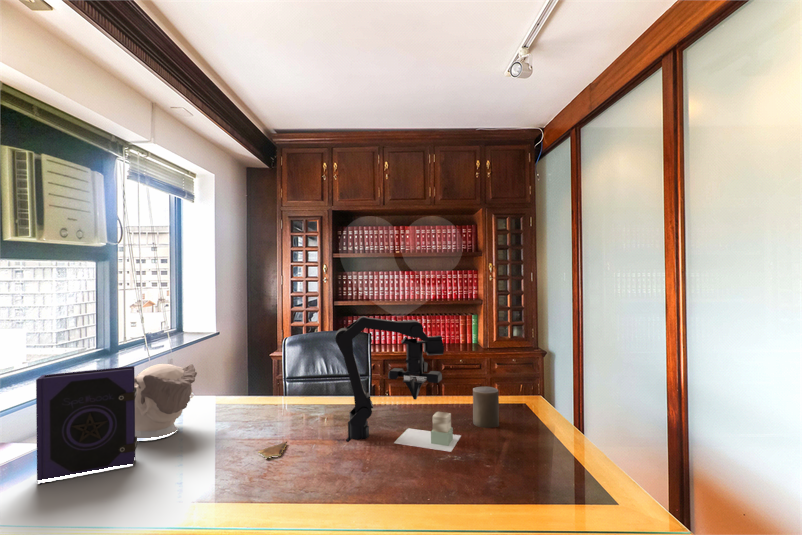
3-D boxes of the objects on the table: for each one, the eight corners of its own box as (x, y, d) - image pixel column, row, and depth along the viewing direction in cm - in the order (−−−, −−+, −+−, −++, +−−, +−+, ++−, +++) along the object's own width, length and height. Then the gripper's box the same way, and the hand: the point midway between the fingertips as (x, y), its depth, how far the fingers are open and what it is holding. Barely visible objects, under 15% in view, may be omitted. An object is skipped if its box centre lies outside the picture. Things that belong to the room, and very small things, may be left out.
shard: (287, 445, 145) (287, 440, 145) (298, 452, 139) (298, 447, 140) (257, 455, 137) (257, 449, 137) (268, 463, 132) (268, 457, 132)
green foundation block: (431, 443, 142) (430, 431, 142) (436, 436, 147) (436, 425, 147) (448, 445, 140) (448, 433, 140) (452, 439, 145) (452, 427, 145)
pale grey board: (393, 445, 142) (393, 442, 142) (408, 430, 155) (408, 428, 155) (451, 454, 135) (451, 451, 135) (461, 438, 148) (461, 435, 148)
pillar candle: (497, 431, 154) (497, 390, 154) (470, 428, 157) (470, 388, 157) (500, 422, 163) (500, 384, 163) (475, 420, 166) (474, 382, 166)
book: (36, 486, 118) (35, 379, 119) (43, 476, 124) (42, 374, 124) (135, 467, 129) (134, 369, 129) (137, 458, 135) (136, 365, 135)
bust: (93, 420, 154) (119, 350, 149) (144, 404, 172) (168, 341, 167) (137, 465, 145) (166, 391, 140) (186, 443, 163) (213, 377, 158)
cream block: (432, 431, 142) (432, 416, 142) (437, 425, 147) (436, 411, 147) (447, 433, 140) (446, 418, 140) (451, 427, 145) (450, 413, 145)
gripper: (445, 353, 155) (446, 395, 155) (398, 350, 162) (399, 390, 162) (437, 359, 145) (437, 404, 145) (387, 355, 152) (388, 399, 152)
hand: (415, 399), depth 151 cm, fingers closed
